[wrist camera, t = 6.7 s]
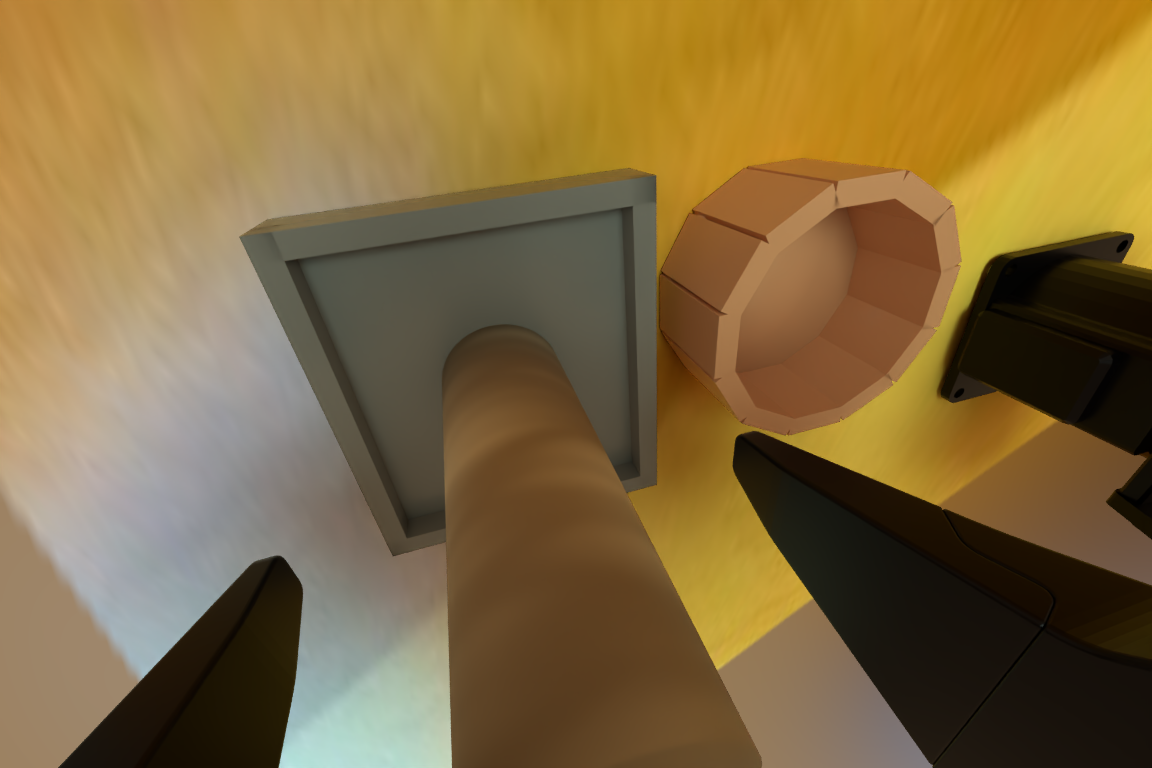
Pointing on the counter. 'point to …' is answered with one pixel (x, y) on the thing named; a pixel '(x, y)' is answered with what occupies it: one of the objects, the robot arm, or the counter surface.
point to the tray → (467, 320)
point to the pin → (561, 586)
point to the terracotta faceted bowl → (808, 288)
